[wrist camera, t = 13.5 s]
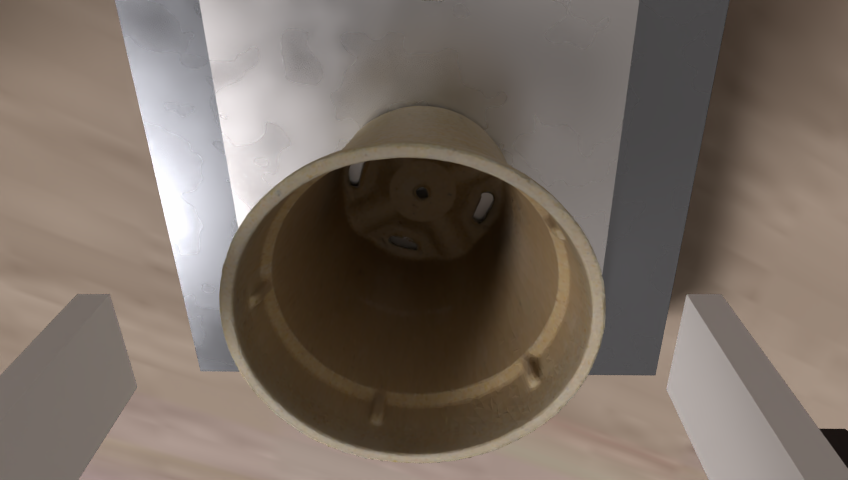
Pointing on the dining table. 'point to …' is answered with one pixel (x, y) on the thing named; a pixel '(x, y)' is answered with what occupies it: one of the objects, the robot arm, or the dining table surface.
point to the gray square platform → (438, 87)
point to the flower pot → (412, 295)
